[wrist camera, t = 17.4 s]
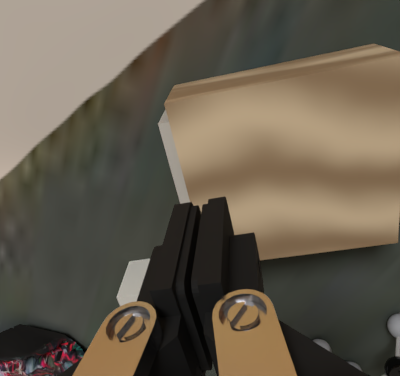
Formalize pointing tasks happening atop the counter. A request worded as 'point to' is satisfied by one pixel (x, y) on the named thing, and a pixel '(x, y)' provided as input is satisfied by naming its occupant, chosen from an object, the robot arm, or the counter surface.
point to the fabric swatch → (36, 352)
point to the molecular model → (395, 366)
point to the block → (132, 281)
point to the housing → (297, 149)
